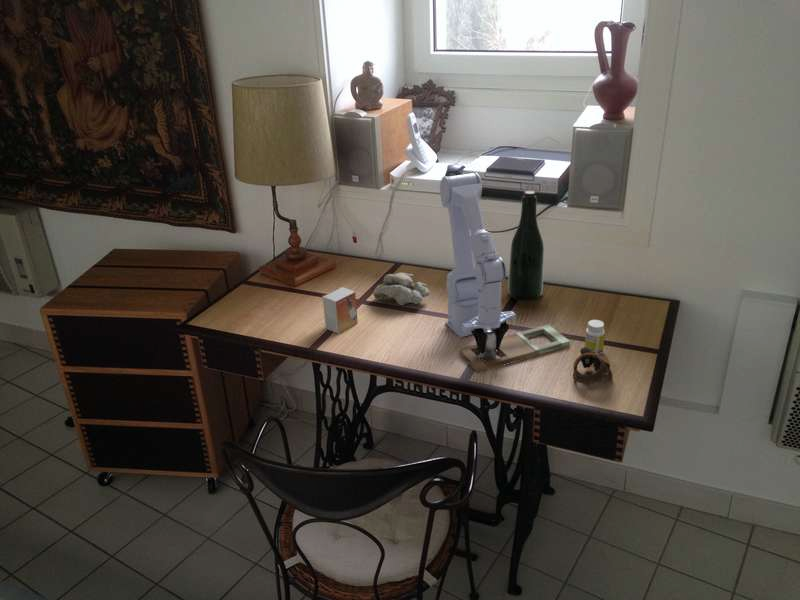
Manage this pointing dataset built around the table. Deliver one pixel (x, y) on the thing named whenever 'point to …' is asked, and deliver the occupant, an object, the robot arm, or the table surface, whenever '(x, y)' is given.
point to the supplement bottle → (595, 336)
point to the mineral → (401, 289)
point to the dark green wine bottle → (526, 254)
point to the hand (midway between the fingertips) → (488, 349)
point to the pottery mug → (587, 361)
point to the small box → (340, 310)
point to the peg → (490, 344)
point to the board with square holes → (516, 348)
